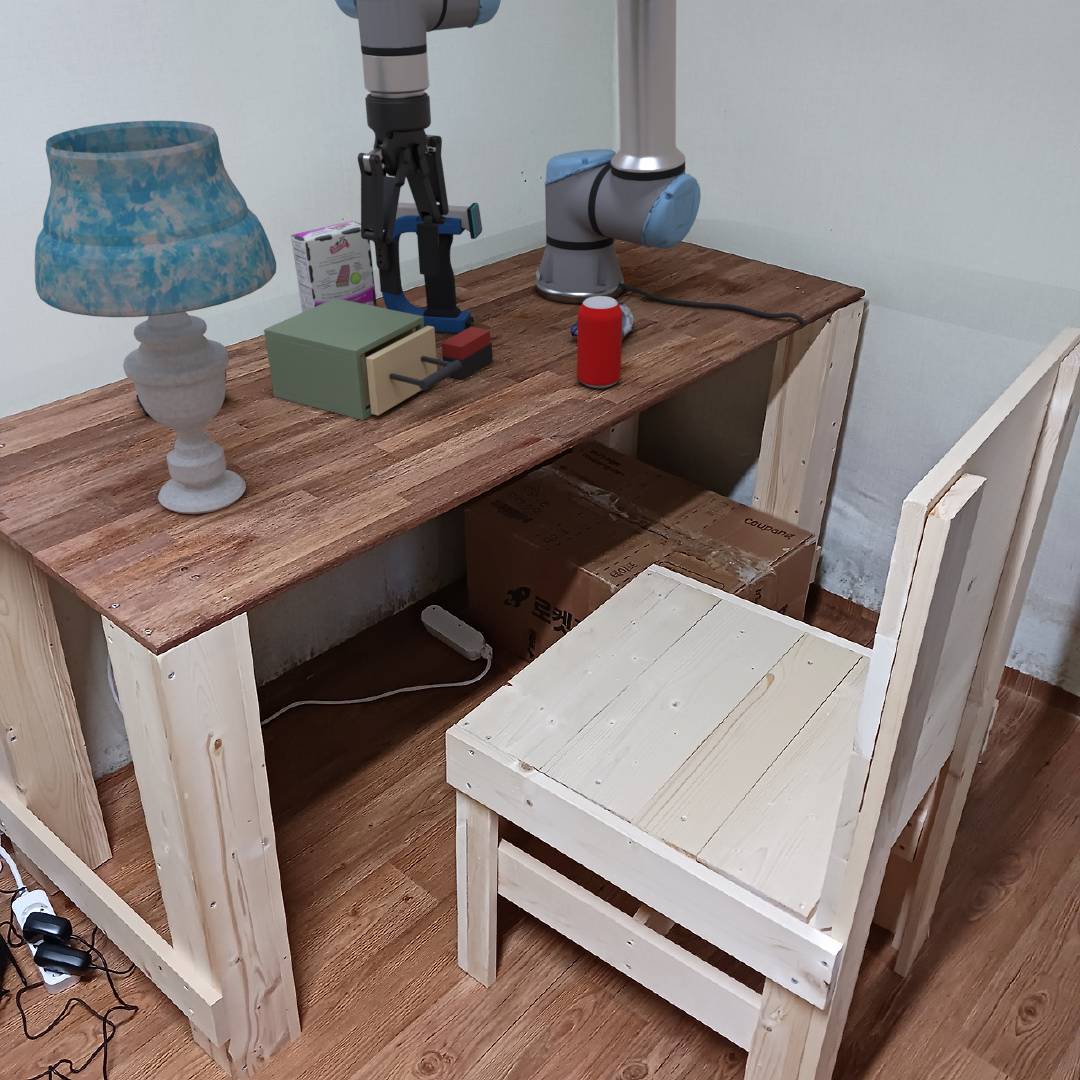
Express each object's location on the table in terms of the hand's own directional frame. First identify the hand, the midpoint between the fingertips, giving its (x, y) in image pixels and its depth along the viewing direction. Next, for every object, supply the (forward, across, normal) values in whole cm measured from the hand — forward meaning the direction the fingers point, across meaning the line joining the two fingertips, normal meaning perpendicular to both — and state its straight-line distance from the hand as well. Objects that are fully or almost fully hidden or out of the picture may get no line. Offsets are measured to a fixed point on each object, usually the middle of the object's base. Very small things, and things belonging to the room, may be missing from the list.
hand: (410, 283), depth 137 cm
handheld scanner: (+17, -26, -16) cm, 35 cm away
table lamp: (+17, +33, -7) cm, 38 cm away
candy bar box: (+17, -17, -28) cm, 37 cm away
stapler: (+17, -14, -2) cm, 23 cm away
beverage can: (+17, -19, +17) cm, 31 cm away
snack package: (+17, -36, +10) cm, 41 cm away
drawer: (+16, 0, -6) cm, 17 cm away
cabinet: (+17, 0, -12) cm, 21 cm away
